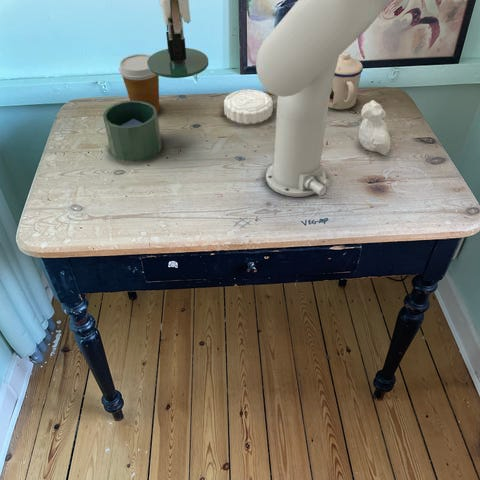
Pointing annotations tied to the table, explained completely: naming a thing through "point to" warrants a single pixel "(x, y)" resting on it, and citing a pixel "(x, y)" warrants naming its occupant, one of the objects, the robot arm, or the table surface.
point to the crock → (133, 130)
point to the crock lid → (177, 64)
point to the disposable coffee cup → (140, 79)
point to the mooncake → (248, 106)
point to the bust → (374, 129)
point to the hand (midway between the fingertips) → (177, 55)
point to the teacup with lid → (345, 82)
